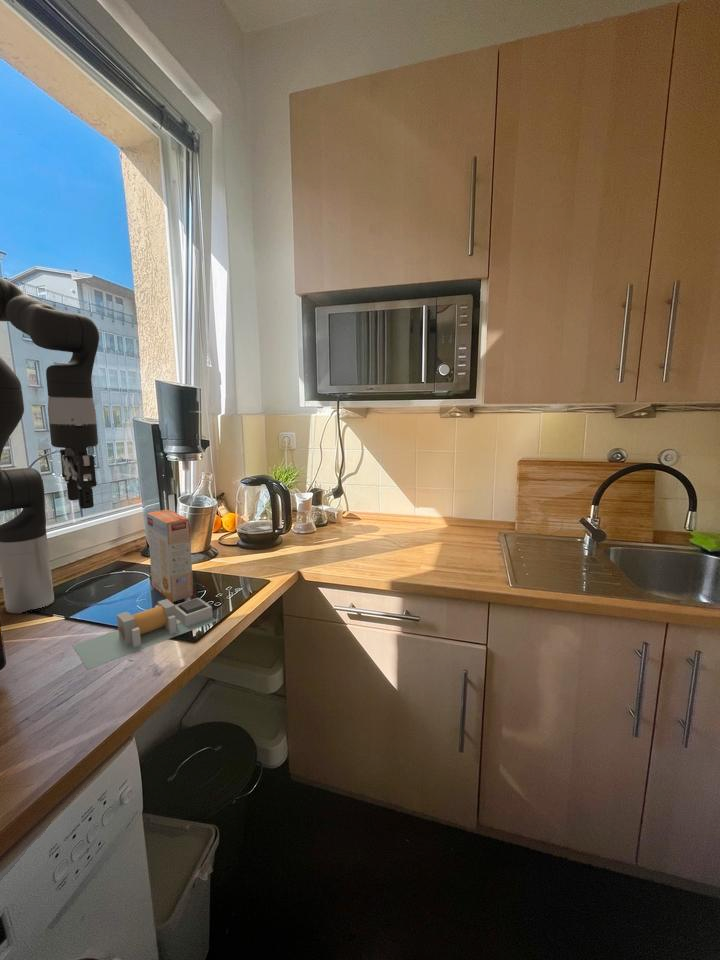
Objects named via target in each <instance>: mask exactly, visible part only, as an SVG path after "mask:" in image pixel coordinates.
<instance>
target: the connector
mask: <svg viewBox="0 0 720 960" xmlns="http://www.w3.org/2000/svg"><path fill="white" fill-rule="evenodd" d="M193 599H194V600H192V599H190V600H191V601H189V600H187V601H188V602H186V601H184V602H185V603H183V602H181V603H182V604H180V603H179V604H180V609H181V610H183V611H184V612H185V613H186V614H189V613H192V612H195V611H198V610H201V609H203V608H205V604H204V603H202V602H201V601H200V600H198V599H195V598H193Z"/></svg>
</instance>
